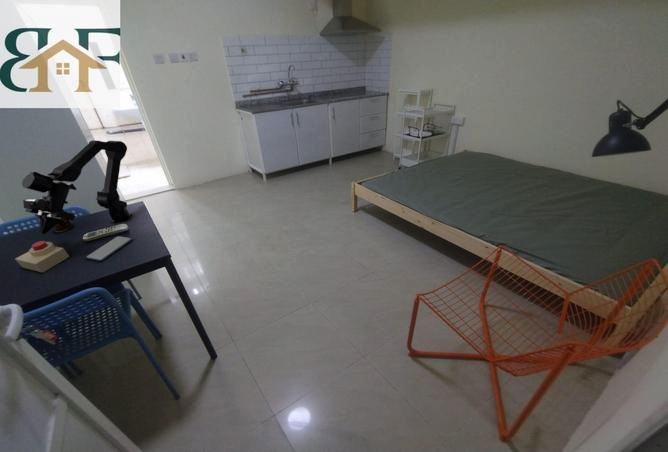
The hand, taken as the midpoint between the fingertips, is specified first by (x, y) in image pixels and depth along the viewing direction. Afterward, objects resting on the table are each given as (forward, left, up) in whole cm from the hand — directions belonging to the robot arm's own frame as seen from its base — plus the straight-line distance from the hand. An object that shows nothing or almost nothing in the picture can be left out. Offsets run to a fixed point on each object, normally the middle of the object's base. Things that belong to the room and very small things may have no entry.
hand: (42, 233), depth 111 cm
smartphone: (-20, +4, -11) cm, 23 cm away
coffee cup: (+8, -24, -11) cm, 28 cm away
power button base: (+3, +4, -11) cm, 12 cm away
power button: (+2, +3, -5) cm, 6 cm away
